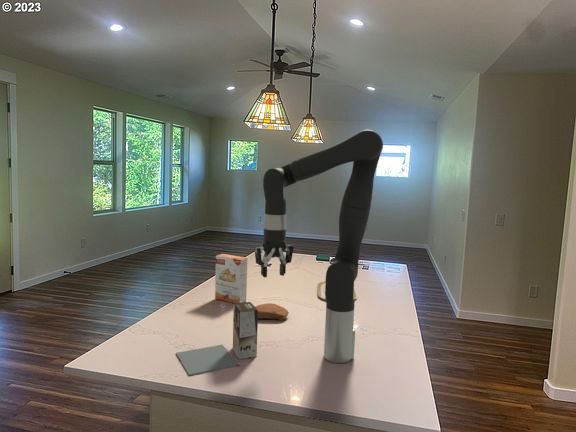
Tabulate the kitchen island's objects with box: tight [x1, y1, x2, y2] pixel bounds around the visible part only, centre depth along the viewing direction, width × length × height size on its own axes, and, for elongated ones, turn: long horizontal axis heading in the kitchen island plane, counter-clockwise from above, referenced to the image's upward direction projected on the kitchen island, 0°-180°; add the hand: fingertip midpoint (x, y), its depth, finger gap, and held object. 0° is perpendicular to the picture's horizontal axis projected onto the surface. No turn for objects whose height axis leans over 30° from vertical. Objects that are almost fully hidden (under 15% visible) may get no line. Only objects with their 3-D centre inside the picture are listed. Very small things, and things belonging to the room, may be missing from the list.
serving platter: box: [317, 280, 357, 302], centre depth 214 cm, size 19×35×2 cm, turn 176°
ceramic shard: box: [254, 303, 289, 321], centre depth 176 cm, size 15×6×15 cm
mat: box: [175, 344, 240, 377], centre depth 136 cm, size 16×16×1 cm
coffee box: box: [232, 301, 259, 360], centre depth 141 cm, size 9×6×16 cm
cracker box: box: [214, 253, 248, 304], centre depth 194 cm, size 14×6×21 cm, turn 62°
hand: (273, 275), depth 144 cm, fingers open, 6 cm apart
